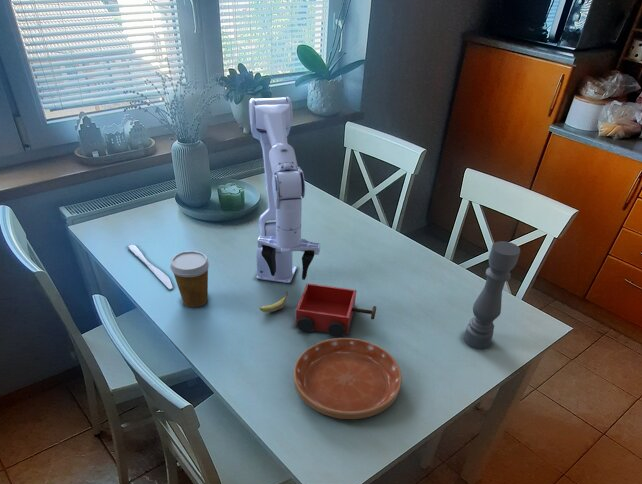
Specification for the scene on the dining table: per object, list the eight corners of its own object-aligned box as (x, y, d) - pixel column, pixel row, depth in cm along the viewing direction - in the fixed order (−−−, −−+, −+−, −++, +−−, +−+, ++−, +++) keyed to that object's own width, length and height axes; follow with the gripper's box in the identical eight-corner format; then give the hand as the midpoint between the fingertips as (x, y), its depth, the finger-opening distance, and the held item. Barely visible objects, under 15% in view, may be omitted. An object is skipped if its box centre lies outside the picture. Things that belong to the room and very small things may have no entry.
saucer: (320, 438, 100) (321, 426, 98) (278, 364, 116) (277, 352, 113) (420, 405, 107) (423, 393, 105) (367, 339, 123) (369, 327, 120)
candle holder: (485, 352, 120) (517, 259, 103) (459, 342, 122) (486, 250, 105) (493, 337, 124) (525, 246, 107) (468, 328, 126) (495, 237, 109)
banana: (286, 302, 133) (286, 290, 130) (290, 306, 132) (290, 293, 129) (259, 313, 129) (258, 300, 127) (262, 316, 128) (262, 304, 126)
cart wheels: (296, 331, 125) (296, 318, 122) (309, 297, 135) (309, 284, 132) (370, 342, 122) (371, 329, 119) (377, 307, 132) (379, 294, 129)
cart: (295, 327, 126) (296, 310, 122) (306, 299, 134) (306, 282, 130) (347, 335, 124) (348, 318, 120) (354, 307, 132) (356, 289, 128)
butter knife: (136, 242, 152) (127, 245, 151) (177, 286, 137) (167, 289, 135) (137, 244, 153) (127, 246, 151) (177, 288, 137) (167, 291, 136)
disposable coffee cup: (220, 293, 135) (215, 253, 127) (203, 314, 129) (197, 273, 121) (187, 286, 138) (181, 246, 129) (169, 306, 131) (161, 266, 123)
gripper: (252, 229, 114) (255, 280, 123) (317, 236, 112) (315, 288, 121) (261, 214, 119) (263, 265, 128) (322, 221, 117) (320, 272, 126)
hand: (288, 275), depth 125 cm, fingers open, 7 cm apart
